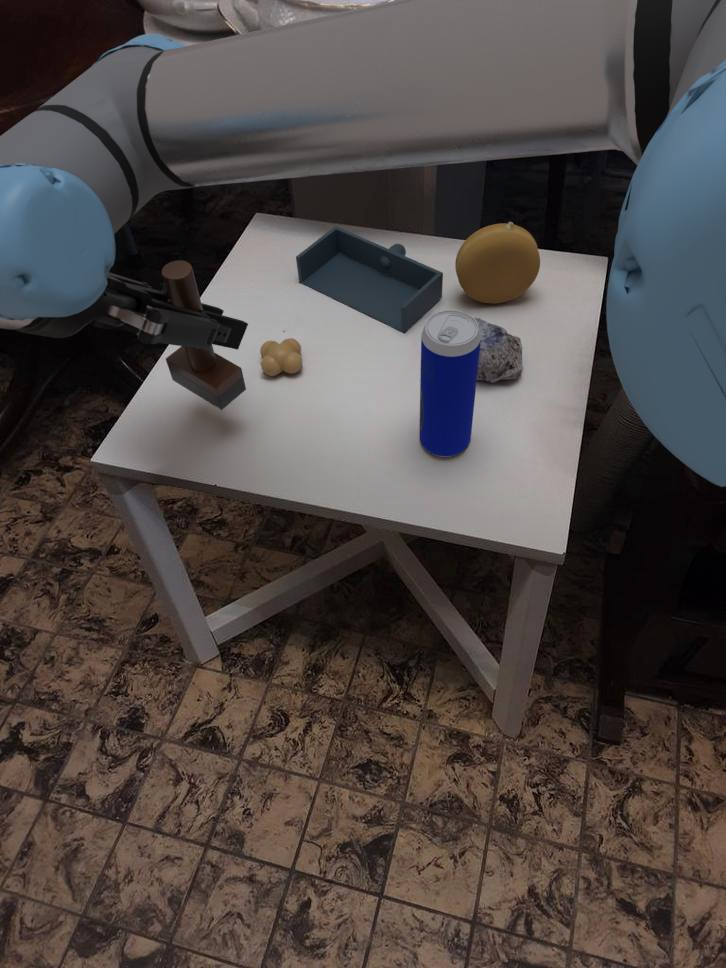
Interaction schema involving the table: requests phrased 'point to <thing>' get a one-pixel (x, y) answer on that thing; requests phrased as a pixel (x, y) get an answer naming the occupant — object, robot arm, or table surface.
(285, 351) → the tan lobed cluster
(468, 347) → the beverage can
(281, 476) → the table surface
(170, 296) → the brush
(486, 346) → the mineral specimen
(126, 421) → the table surface
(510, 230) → the tan flat oval
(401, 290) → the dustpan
